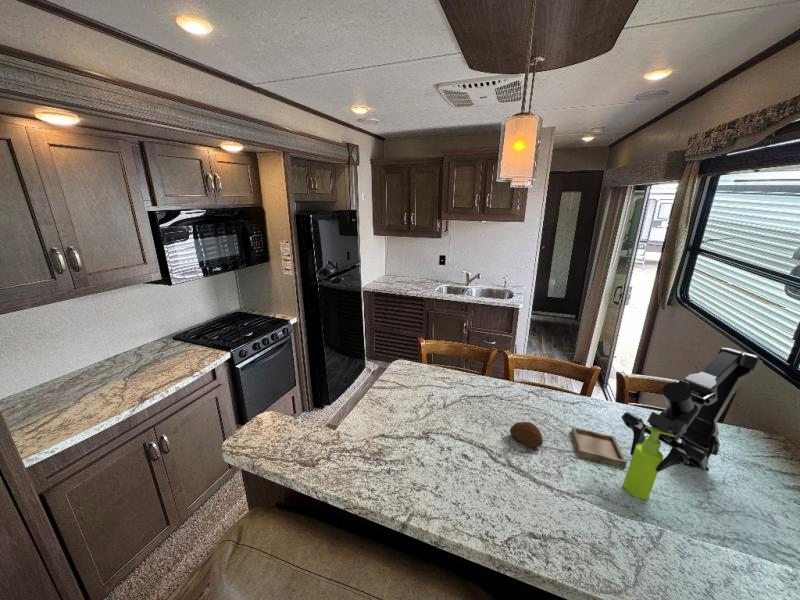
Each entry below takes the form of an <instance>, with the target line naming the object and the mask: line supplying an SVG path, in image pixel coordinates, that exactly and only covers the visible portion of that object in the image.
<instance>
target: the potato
mask: <svg viewBox="0 0 800 600" xmlns="http://www.w3.org/2000/svg"><path fill="white" fill-rule="evenodd" d="M509 433H510V435H511V436H512V437H513V438H514V439H516V440H517V441H519V442H521V443H522V444H524V445H526V446H527V447H530V448H539V447H541V446H543V442H544V441H543V439H544V438H543V436H542V433H541V430H540V429H539V427H537V426H536V425H535V424H534V423H533V422H530V421H520V422H519V421H518V422H516V423H514V424H513V425H512V426H511V427H510V429H509Z"/></svg>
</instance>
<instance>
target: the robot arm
mask: <svg viewBox="0 0 800 600" xmlns="http://www.w3.org/2000/svg"><path fill="white" fill-rule="evenodd" d="M763 363H764V361H763V360H761V359H760V356H759V355H757V354H753V353H751V352H750V353H748V352H746V351H743V350H739V349H735V348H729V347H721V348H720V349H719V351H718V354H717V355H715V357H714V358H713V359H711V361H710V362H709V363H708V364H707V365H706V366H705V367H704V368H703V369H702V370H700V371H699V372H698V373H692V374H687V376H686V377H684V378H682V379H679V380H678V381H675V382H673V381H672V382H668V383H667V384H664V385H663V386H662V389H661V392H662V395H663V398H664V401H665V403H666V405H667V407H666V408H665V410H662V411H661V412H660V413H657V412H655V411H651V413H650V415H649V417H648V418H647V421H646V422H647V423H649V425H650V426H649V425H646V424H645V423H644V421H643V419H642V417H640V416H638V415H636V414H634V413H632V412H631V411H627V412H624V413H623V415H622V416H621V417H620V418H621V420H622V421H623V423H624V426H626V427H627V428H629V429H631V430H632V433H633V438H632V443H631V449H630V455H631V457H632V456H633V453H634V450H635V447H636V444H638V443H643V442H644V439H645V437H646V435H645V434H648V436H650V435H651V431H650V430H649V427H658V428H660V429H662V430H663V431H665V432H667V433H673V434H674V435H675V437H672V436H669V435H664V434H660V435H659V438H658V440H659V441H660V442H661V443H664V444H665V445H667V446H669V447H671V449H670V451H669V452H668V454H667V455H666V456H665V457H663V459H662V462H661V463H660V464H659V465H658V467H657V468H656V471H657V472H658V473H659V472H662V471H664V470H667V469H668V468H671V467H673V466H677V465H680V464H683V465H686V466H688V467H692V468H696V469H700V470H703V471H704V469H706V470H705V471H710V468H709V467H708V464H709V459H710V456H712V455H713V456H717V455H718V454H719V450H720V447H721V443H720V440H719V439H720V438H719V437H718V436H719V434H720V430H719V427H718V421H719V419H720V417H721V416H722V414H723V412H724V411H725V409H726V407H727V406H728V404H729V402H730V400H731V399H732V397H733V395H734V393H735V392H736V390H737V389H738V387H739V385H740V384H741V382H743V381H746V380H748V379H751V378H753V376H754V375H755V373H756V372H759V371H761V368H762V367H763ZM695 403H696V404H695ZM697 404H699V405H701V406H700V409H699V407H698V406H697ZM679 440H681V442H679Z"/></svg>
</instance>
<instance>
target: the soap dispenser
mask: <svg viewBox="0 0 800 600" xmlns="http://www.w3.org/2000/svg"><path fill="white" fill-rule="evenodd" d="M649 430H650V431H651V435H647V436H646V435H645V439H644V442H643V443H638V444H636V447H635V450H634V453H633V456H632V455H631V459H630V463H629V465H628V469H627V471H626V474H625V476H624V477H625V478H624V480H623V488H624V489H625V490H626V491H627V492H628V493H629V494H630V495H632V496H634V497H636V498H638V499H642V500H646V499H648V498H650V495H651V492H652V489H653V487H654V483H655V481H656V479H657V475H658V473H659V472H657V471H656V468H657V467H658V465H659V464H660V463H661V462H662V461H663V460H664V455H663V453H662V452H661V451H660V448H661V445H662V441H660V440H658V438H659V435H660V434H664V435H669V436H672V437H675V435H674V434H673V433H667V432H665V431H663V430H662V429H660V428H658V427H652V426H649Z"/></svg>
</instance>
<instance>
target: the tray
mask: <svg viewBox="0 0 800 600" xmlns="http://www.w3.org/2000/svg"><path fill="white" fill-rule="evenodd" d="M571 435H572V437H573V438H572V439H573V442H574V445H575V449H576V452H577V456H578V457H582V458H586V459H589V458H590V459H589V460H593V459H594V461H597V460H598V461H597V462H601V461H602V462H601V463H605V462H606V463H605V464H608V463H610V464H609V465H612V464H615V465H614V466H616V465H619V466H618V467H620V466H623V467H622V468H624V467H625V468H626V466H627V463H628V462H627V460H626V458H625V455H624V454H623V451H622V450H621V447H620V445H619V443H618V441H617V440H616V437H615V436H614V435H610V434H607V433H606V434H605V433H601V432H598V431H593V430H589V429H585V428H582V427H581V428H580V427H575V426H572V429H571ZM611 463H612V464H611Z"/></svg>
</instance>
